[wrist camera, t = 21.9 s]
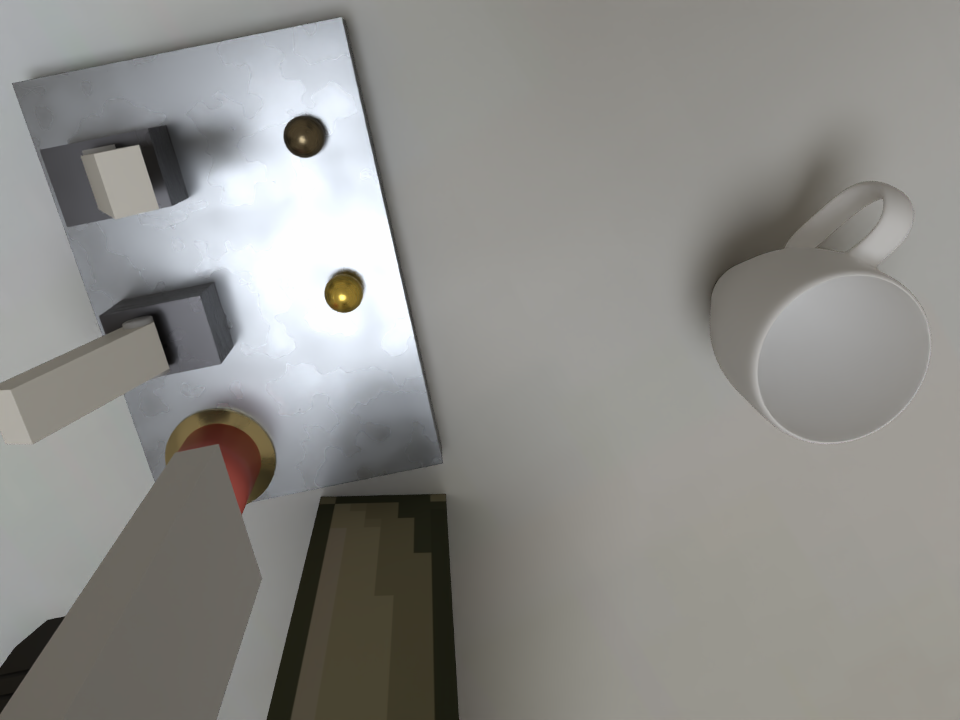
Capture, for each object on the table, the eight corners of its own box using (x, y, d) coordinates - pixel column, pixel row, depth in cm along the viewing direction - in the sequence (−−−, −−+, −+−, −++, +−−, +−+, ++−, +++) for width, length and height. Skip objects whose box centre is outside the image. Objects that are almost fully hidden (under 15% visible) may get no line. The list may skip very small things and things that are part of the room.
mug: (775, 385, 49) (875, 471, 38) (651, 338, 48) (719, 412, 37) (877, 196, 46) (1017, 231, 35) (748, 139, 44) (853, 157, 33)
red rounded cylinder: (169, 432, 45) (133, 483, 39) (248, 416, 45) (223, 464, 39) (194, 502, 46) (162, 560, 41) (270, 486, 46) (249, 542, 41)
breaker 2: (135, 316, 40) (-19, 386, 33) (160, 314, 39) (8, 384, 32) (153, 369, 41) (7, 448, 34) (177, 368, 40) (34, 448, 33)
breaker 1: (78, 151, 37) (91, 148, 30) (115, 144, 38) (137, 139, 30) (99, 213, 38) (117, 224, 31) (135, 204, 38) (160, 214, 31)
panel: (31, 83, 41) (-21, 83, 36) (345, 20, 41) (335, 12, 36) (177, 502, 49) (151, 546, 44) (442, 448, 49) (444, 487, 44)
